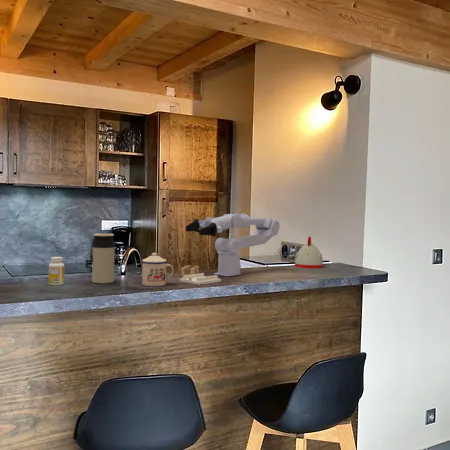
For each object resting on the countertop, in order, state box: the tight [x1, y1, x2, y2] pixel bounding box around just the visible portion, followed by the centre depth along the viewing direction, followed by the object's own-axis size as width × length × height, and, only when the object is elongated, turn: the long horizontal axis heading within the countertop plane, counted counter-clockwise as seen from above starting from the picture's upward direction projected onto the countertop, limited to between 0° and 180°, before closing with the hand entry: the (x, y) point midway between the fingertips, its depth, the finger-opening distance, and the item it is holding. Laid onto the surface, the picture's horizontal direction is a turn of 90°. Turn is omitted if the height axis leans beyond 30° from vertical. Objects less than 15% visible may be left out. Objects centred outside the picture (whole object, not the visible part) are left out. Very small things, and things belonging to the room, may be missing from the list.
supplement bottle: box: [48, 256, 66, 286], centre depth 177 cm, size 5×5×10 cm
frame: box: [180, 265, 200, 278], centre depth 202 cm, size 9×5×4 cm, turn 169°
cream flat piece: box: [178, 272, 222, 286], centre depth 191 cm, size 12×11×2 cm
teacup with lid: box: [141, 252, 174, 287], centre depth 182 cm, size 12×9×12 cm
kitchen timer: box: [294, 236, 324, 269], centre depth 246 cm, size 14×14×15 cm
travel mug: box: [91, 233, 116, 285], centre depth 184 cm, size 8×8×18 cm
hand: (192, 230), depth 195 cm, fingers open, 7 cm apart
